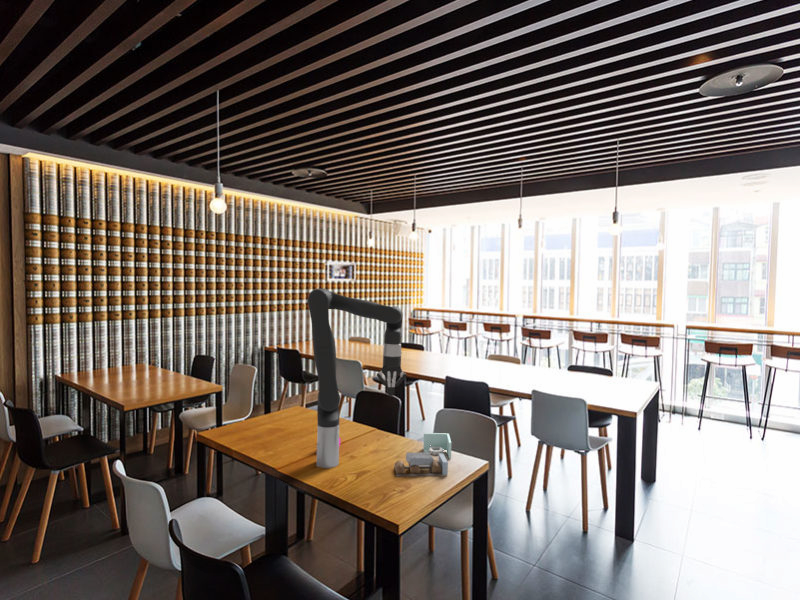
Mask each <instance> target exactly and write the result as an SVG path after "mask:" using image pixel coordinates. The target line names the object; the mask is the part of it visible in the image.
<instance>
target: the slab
mask: <svg viewBox="0 0 800 600" xmlns="http://www.w3.org/2000/svg"><path fill="white" fill-rule="evenodd" d="M433 460H435V459H434V457H433V455H432V454H430V453H426V452H409V451H408V452H406V453H405V461H406V462H407V464H408V466H409V465H415V466H433Z"/></svg>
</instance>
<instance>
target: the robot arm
mask: <svg viewBox="0 0 800 600" xmlns="http://www.w3.org/2000/svg"><path fill="white" fill-rule="evenodd" d="M307 306H308V310H309V315H310V320H311V335H312V336H311V337H312V348H313V358H314V359H313V360H314V364H315V368H316V373H317V377H318V379H317V380H318V393H317V400H316V401H317V412H316V413H317V414H316V415H317V417H316V419H317V430H316V431H317V434H316V435H317V436H316V437H317V439H316V467H317V468H321V467H322V469H332V468H336V467H337V466H339V464H340V462H339V461H340V446H339V438H340V403H341V395H340V391H339V386H338V381H337V380H338V379H337V349H336V348H337V347H336V341H335V336H334V333H333V331H332V328H331V324H330V319H329V316H330V315H329V310H335V311H336V310H337V311H342V312H347V313H349V314H352V315H354V316H357V317H361V318H366V319H371V320H376V321H380V322H383V323H385V330H384V340H383V348H382V349H383V350H382V351H383V352H382V367H381V370H380V371H379V372H377V373H376V376H377V378H378V380H379V381H380V382H381V383H382V385H383V386H385V387H387V391H386V392H387V393H386V394H387V395H388V396H389V397H393V396H394V395H395V388H396V387H399V386H400V385H401V384H402V382H403V381H404V380H405V379H406V377H407V373H405V372H404V371H403V369H402V326H403V315H404V314H403V311H402V309H401V308H400V307H398V306H395V305H394V306H391V305H383V304H381V303H378V302H375V301H369V300H365V299H360V298H355V297H348V296H345V295H341V294H338V293H335V292H333V291H330V290H328V289H326V288H315V289H312V291H310V293H308V296H307ZM383 376H384V377H385V379H386V381H385V379H384V378H383ZM398 377H399V378H398ZM396 379H397V381H396Z"/></svg>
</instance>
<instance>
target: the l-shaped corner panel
mask: <svg viewBox="0 0 800 600" xmlns="http://www.w3.org/2000/svg"><path fill="white" fill-rule="evenodd" d="M430 445H431V446H430ZM422 447H423V449H422V450H423V453H430V455H431V456H439V454H444V453H443V451H444V450H447V453H446V454H447V456H448V459H450V458H451V459H452V441H451V436H450V433H443V432H441V433H440V432H439V433H438V432H423V446H422ZM443 449H444V450H443Z"/></svg>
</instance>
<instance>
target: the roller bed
mask: <svg viewBox="0 0 800 600" xmlns="http://www.w3.org/2000/svg"><path fill="white" fill-rule="evenodd" d="M438 461H439V460H437V459H434V460H433V466H415V465H409V464H408V465H406V466H405V463H404V461H403V460H397V461H396V462H394V470H395V476H396V477H424V476H425V477H429V476H432V477H434V476H438V475H442V476H443V474H442V468H441V466H440V464H439V462H438ZM406 469H409V471H410V473H409V474H406V472H407V470H406ZM421 469H429V472H430V473H422V472H421ZM438 477H439V476H438Z"/></svg>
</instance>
